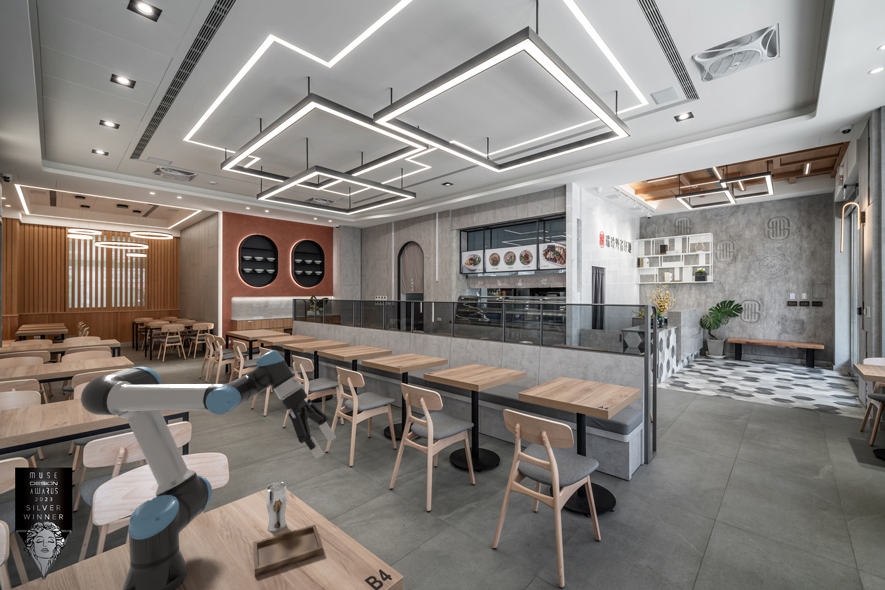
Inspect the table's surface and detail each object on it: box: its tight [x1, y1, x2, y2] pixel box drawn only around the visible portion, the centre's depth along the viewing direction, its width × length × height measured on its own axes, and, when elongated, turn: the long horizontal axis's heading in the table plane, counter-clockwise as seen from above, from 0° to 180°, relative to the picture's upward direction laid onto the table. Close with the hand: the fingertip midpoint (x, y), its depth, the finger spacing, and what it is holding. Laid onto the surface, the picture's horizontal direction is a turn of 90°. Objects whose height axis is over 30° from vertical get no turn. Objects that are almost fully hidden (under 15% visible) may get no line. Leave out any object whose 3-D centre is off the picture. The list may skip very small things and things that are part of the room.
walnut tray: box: [252, 524, 324, 577], centre depth 127 cm, size 20×14×2 cm
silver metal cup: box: [265, 481, 288, 533], centre depth 140 cm, size 7×7×15 cm
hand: (326, 447), depth 126 cm, fingers open, 13 cm apart
